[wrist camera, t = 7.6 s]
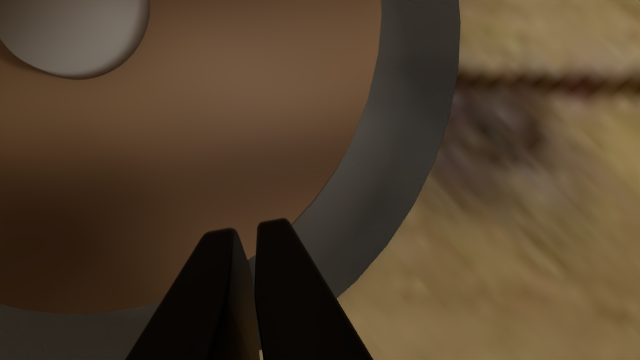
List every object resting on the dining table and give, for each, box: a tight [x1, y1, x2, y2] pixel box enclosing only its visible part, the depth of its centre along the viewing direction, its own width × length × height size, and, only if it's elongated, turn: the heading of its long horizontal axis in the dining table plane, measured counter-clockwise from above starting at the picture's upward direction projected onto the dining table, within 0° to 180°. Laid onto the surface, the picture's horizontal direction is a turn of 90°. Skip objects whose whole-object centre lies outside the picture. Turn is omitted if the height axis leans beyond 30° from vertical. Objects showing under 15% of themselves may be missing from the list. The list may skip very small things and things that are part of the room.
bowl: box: [0, 0, 460, 360], centre depth 16 cm, size 22×22×5 cm
